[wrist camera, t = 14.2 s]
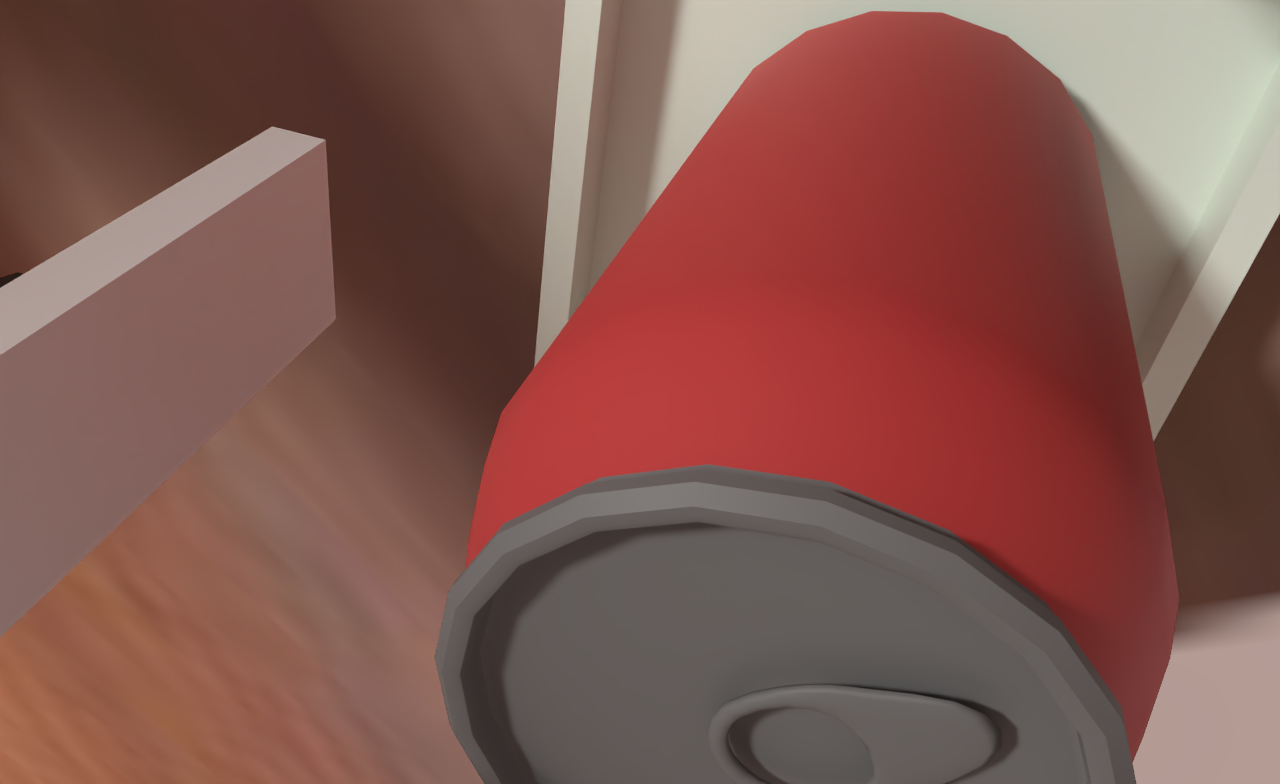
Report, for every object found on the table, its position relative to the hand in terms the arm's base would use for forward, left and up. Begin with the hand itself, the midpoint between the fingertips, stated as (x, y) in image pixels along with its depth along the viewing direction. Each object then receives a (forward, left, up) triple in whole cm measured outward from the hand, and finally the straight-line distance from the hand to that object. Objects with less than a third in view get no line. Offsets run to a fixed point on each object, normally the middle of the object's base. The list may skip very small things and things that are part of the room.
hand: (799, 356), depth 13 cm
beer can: (+1, 0, -6) cm, 6 cm away
